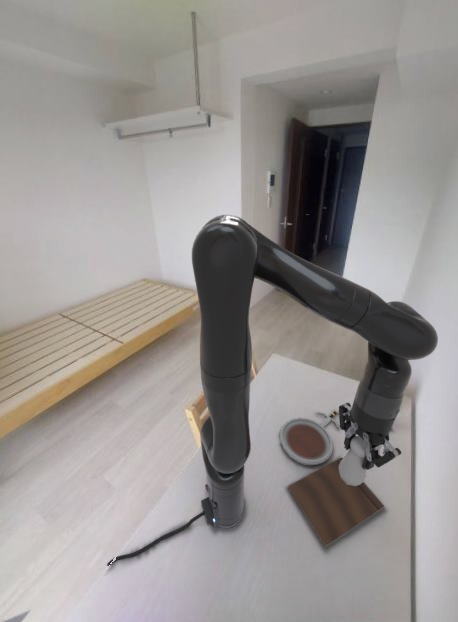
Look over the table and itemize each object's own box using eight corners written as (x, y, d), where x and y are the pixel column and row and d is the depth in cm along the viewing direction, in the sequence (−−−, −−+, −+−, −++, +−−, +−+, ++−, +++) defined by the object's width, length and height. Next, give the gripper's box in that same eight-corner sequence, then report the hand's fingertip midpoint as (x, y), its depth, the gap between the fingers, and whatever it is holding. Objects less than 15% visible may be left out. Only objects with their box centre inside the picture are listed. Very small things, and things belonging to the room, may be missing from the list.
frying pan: (360, 422, 94) (313, 473, 78) (358, 428, 95) (311, 479, 79) (318, 394, 105) (269, 434, 89) (316, 400, 106) (268, 440, 91)
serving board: (325, 548, 65) (326, 545, 64) (288, 488, 77) (288, 485, 76) (383, 509, 72) (384, 505, 71) (341, 460, 84) (342, 456, 83)
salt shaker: (356, 464, 67) (369, 430, 60) (367, 489, 62) (383, 455, 55) (333, 465, 67) (344, 431, 60) (342, 490, 62) (355, 455, 55)
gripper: (334, 383, 56) (321, 437, 64) (396, 439, 45) (371, 496, 53) (361, 373, 59) (345, 426, 67) (426, 423, 47) (397, 479, 56)
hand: (357, 456), depth 60 cm, fingers closed on salt shaker, 4 cm apart
